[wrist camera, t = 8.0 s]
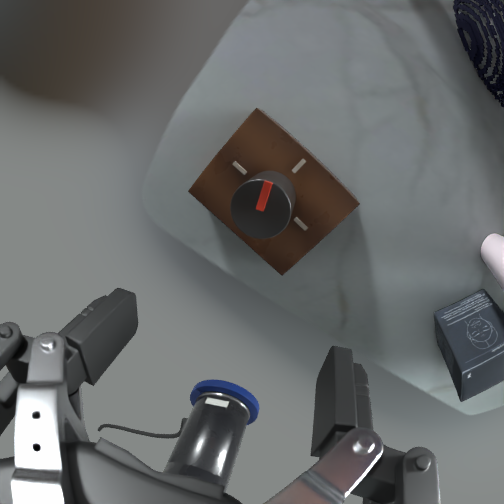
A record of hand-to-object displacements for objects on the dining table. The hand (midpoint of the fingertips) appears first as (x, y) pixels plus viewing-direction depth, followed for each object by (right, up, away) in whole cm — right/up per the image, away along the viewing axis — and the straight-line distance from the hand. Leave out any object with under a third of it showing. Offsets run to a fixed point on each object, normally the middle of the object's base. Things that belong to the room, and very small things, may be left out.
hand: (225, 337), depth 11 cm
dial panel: (+3, +9, +17) cm, 19 cm away
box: (+27, -5, +17) cm, 33 cm away
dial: (+3, +8, +14) cm, 16 cm away
